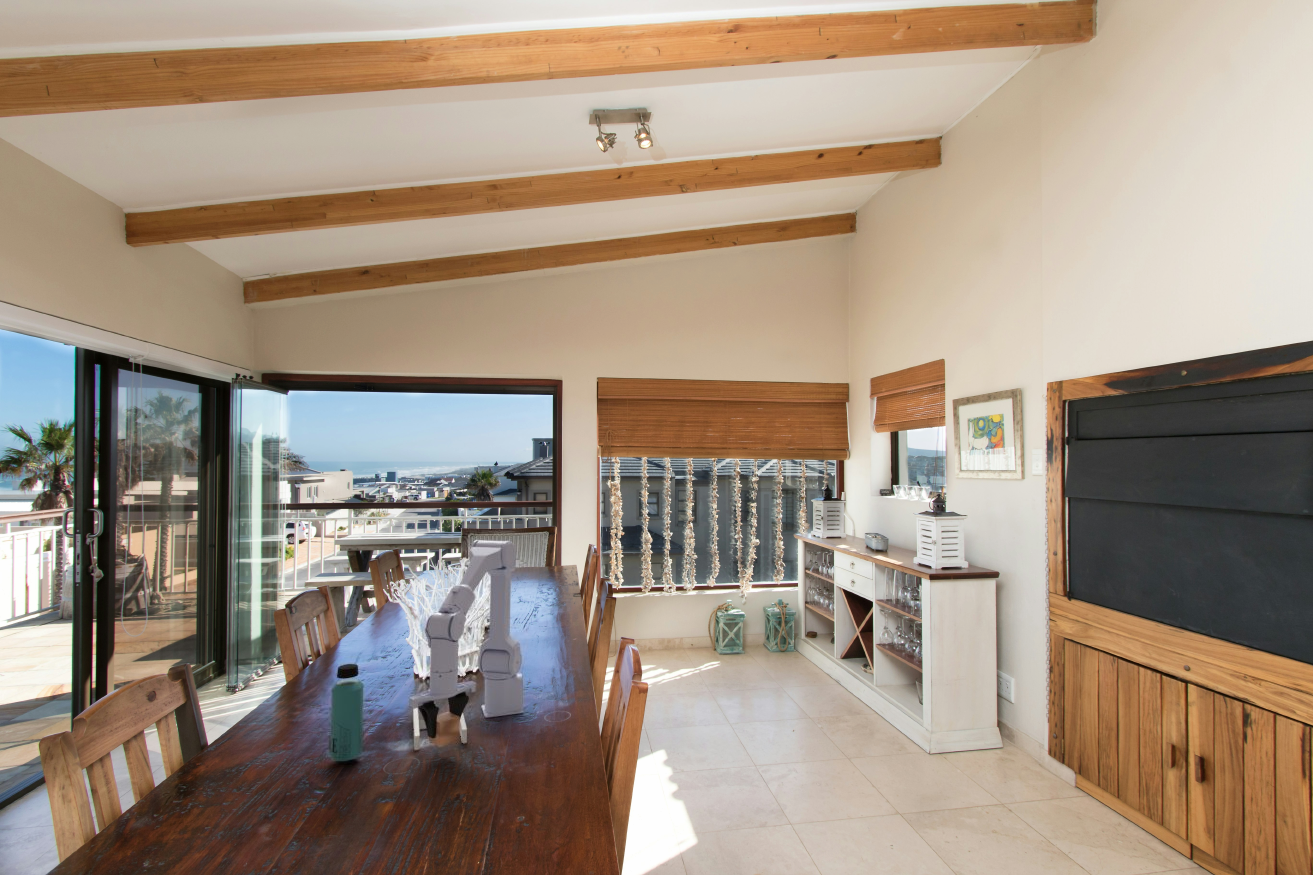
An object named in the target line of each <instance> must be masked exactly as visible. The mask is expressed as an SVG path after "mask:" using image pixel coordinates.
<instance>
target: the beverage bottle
mask: <svg viewBox="0 0 1313 875" xmlns="http://www.w3.org/2000/svg"><path fill="white" fill-rule="evenodd" d="M358 676H359V665H358V664H356V663H346V664H345V663H344V664H341V665H339V666H338V667H337V673H336V678H337V679H342V680H339V681H337V682H336V683H335V684H334V685H332V688H331V689H330V692H331V695H330V696H331V703H330V723H329V724H330V725H329V728H330V732H329V742H328V743H329V744H328V745H329V751H328V752H329V757H330V759H331V760H332V761H336V762H346V761H350V760H353V759H357V758H358V757H360V756H361V755H362V753H363V750H364V735H365V734H364V721H365V719H364V688H365V685H364V683H363V682H361V680H359V679H357V678H356V677H358Z"/></svg>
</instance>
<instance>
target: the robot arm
mask: <svg viewBox="0 0 1313 875" xmlns="http://www.w3.org/2000/svg"><path fill="white" fill-rule="evenodd" d="M468 554H469V555H468V556H469V557H468V558H469V564H468V565H467V568H466V570H465V572H464V574H463V576H462V579H461V581H460V583H459V585H458V584H457V585H455V586H453V587H452V588H451V589H450V590H449V593H448V594H447V596H446V598H445V599H444V601H443V603H442V604H441V606H440V607H439V609H438V611H436V612H435V613H432V614H431V615H429V617H428V619H427V621H426V625H425V628H424V634H425V637H426V639H427V646H428V648H429V649H430V650H429V651H430V660H429V661H430V662H429V664H430V665H429V689H427V690H425V691H422V692H421V693H417V694H415V695H413V696H410V697H409V698H408V702H409V703H408V707H410V708H412V710H413V709H415V708H418V711H419V712H420V714H421V716H422V718H423V719H424V721H425V725H426V728H427V730H426V733H427V737H428V738H429V737H430V738H432V739H433V738H435V737H436V722H437V715H439V711H440V707H439V706H436V702H438V701H441V700H445V699H447V701H448V708H449V711H448V712H451V713H453V714H455V715H457V716H459V717H460V718H461V715H462V713H463V712H464V710H465V709H466V706H467V704H468V703H469V701H470V700H469V699H470V696H469V695H467V693H474V692H476V687H477V685H476V684H477V682H475V681H473V680H468V681H463V682H458V681H459V680H458V679H459V674H458V673H459V640H460V639H461V637H462V636H463V635H464V634H463V633H464V632H465V631H464V630H465V624H466V622H467V618H466V616H467V614H468V613H469V610H470V609H471V607H472V605H473V603H474V602H475V600H476V594H475V593H474V591H476V589H477V587H478V586H479V584H480V583H481V581H482V580H483V578H484V576H485V575H486V574H489V576H490V589H489V590H490V594H489V595H490V600H489V601H490V602H489V606H490V607H489V637H488V638H487V639H485V640H484V641H483V642H482V643H481V644H480V650H479V654H478V659H477V667H478V670H479V672H480V673H481V674H482V677H484V679H485V680H484V704H482V705H481V710H482V712H483V716H484V718H493V717H500V716H501V717H502V716H510V715H517V714H523V713H524V678H523V675H522V673H521V672H520V670H521V667H522V663H523V655H522V651H521V643H520V642H519V640H516V639H515V638H514V637H513V636H512V635H511V632H510V630H511V592H512V590H511V588H512V587H511V581H512V572H514V571H516V564H517V562H516V560H517V549H516V546H515V544H514V543H513V542H512V541H511V540H484V539H483V540H482V539H476V540H474V541H473V542H472V544H471V546H470V548H469V553H468ZM463 714H464V713H463Z"/></svg>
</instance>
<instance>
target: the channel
mask: <svg viewBox="0 0 1313 875" xmlns="http://www.w3.org/2000/svg"><path fill="white" fill-rule="evenodd" d="M412 710H413V712H412V723H413V724H412V725H413V726H412V727H413V728H412V730H413V729H414V730H413V745H414V746H413V748H414V751H419V750H420V740H421V738H420V731H425V729H427V728H426V725H425V721H424V719H419V709H418V708H415V709H413V708H412ZM460 736H461V737H460ZM459 737H460V741H461V744H462V743H463V744H467V741H468V740H467V738H468V728H467V724H466V720H465V715H464V713H462V715H461V718H460V724H459Z"/></svg>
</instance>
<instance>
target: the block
mask: <svg viewBox="0 0 1313 875" xmlns="http://www.w3.org/2000/svg"><path fill="white" fill-rule="evenodd" d="M459 724H460V717H459V716H457V715H455V714H453V713H451V712H450V711H446V712H443V713H438V715H437V722H436V737H435V738H433V739H432V738H430V737H429V736H428V742H430V743H432V744H433V745H435V746H437V747H439V748H442V747H445V746H448V745H451V744H454V743H457V742H459V741H460V732H459Z"/></svg>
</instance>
